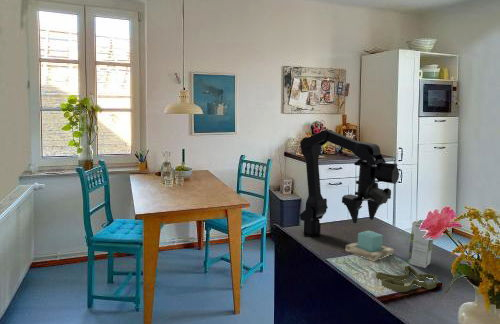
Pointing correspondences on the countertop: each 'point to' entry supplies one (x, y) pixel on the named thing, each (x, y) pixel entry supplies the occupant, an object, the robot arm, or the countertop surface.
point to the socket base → (372, 256)
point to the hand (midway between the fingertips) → (363, 221)
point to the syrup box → (419, 247)
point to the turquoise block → (370, 241)
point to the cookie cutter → (398, 285)
